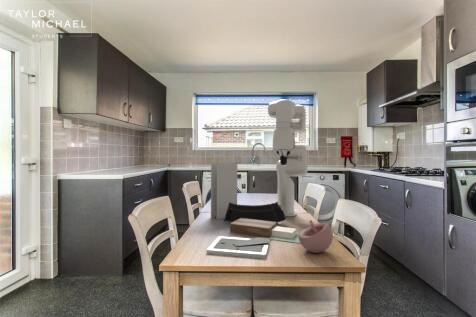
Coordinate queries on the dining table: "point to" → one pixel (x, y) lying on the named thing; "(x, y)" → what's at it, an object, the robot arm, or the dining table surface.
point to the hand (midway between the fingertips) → (283, 164)
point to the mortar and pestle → (316, 237)
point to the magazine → (255, 212)
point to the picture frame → (240, 247)
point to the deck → (252, 227)
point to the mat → (293, 240)
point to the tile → (283, 232)
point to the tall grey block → (223, 187)
